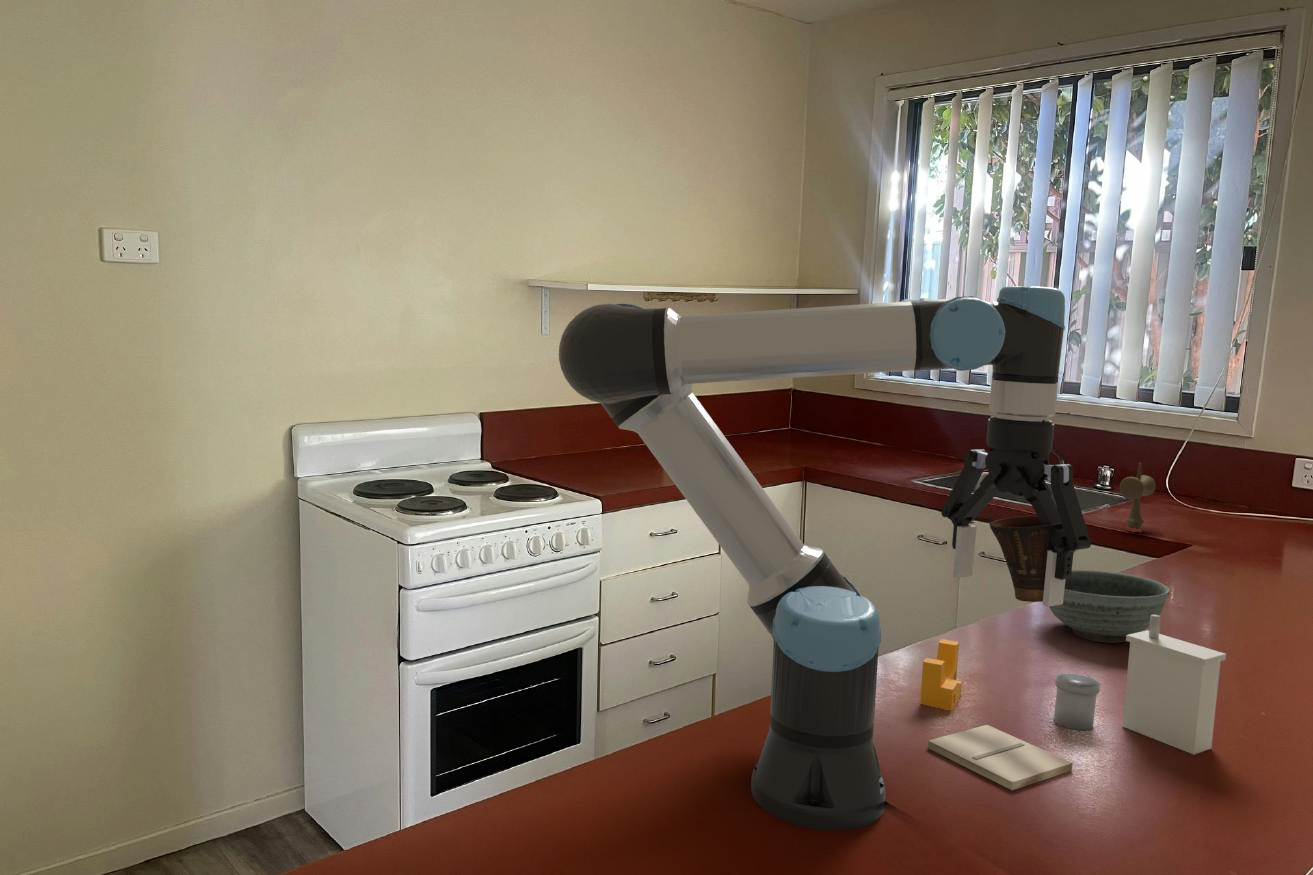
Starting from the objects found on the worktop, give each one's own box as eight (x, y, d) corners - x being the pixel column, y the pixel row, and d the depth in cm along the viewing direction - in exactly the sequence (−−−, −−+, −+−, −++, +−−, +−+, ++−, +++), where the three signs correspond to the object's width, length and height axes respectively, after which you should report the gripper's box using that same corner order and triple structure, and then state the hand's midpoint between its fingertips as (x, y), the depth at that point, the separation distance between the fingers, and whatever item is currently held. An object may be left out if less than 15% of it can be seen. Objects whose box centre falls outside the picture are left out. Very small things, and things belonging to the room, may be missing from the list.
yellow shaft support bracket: (951, 711, 141) (954, 667, 141) (920, 705, 143) (923, 661, 143) (968, 685, 152) (971, 644, 151) (938, 680, 154) (941, 638, 153)
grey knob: (1083, 734, 135) (1088, 691, 134) (1043, 720, 139) (1048, 678, 138) (1102, 724, 138) (1107, 682, 138) (1063, 711, 143) (1068, 670, 142)
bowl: (1132, 664, 164) (1138, 604, 163) (1013, 631, 179) (1018, 576, 178) (1185, 640, 178) (1190, 584, 176) (1070, 611, 193) (1074, 560, 192)
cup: (976, 588, 126) (980, 509, 125) (1049, 590, 126) (1053, 511, 125) (999, 606, 117) (1003, 521, 116) (1077, 609, 117) (1082, 523, 116)
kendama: (1113, 538, 262) (1120, 462, 260) (1128, 534, 269) (1135, 459, 266) (1137, 543, 258) (1145, 465, 255) (1152, 538, 264) (1159, 462, 262)
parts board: (1011, 790, 118) (1012, 781, 118) (927, 747, 129) (928, 739, 128) (1071, 770, 123) (1072, 761, 123) (986, 731, 134) (987, 723, 134)
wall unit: (1195, 756, 129) (1207, 636, 127) (1117, 725, 138) (1128, 613, 136) (1216, 748, 131) (1228, 631, 130) (1138, 719, 141) (1149, 608, 139)
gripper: (1136, 428, 113) (1116, 614, 115) (962, 406, 134) (949, 563, 136) (1094, 430, 109) (1074, 622, 111) (921, 406, 130) (909, 568, 132)
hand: (1005, 590), depth 124 cm, fingers open, 13 cm apart
